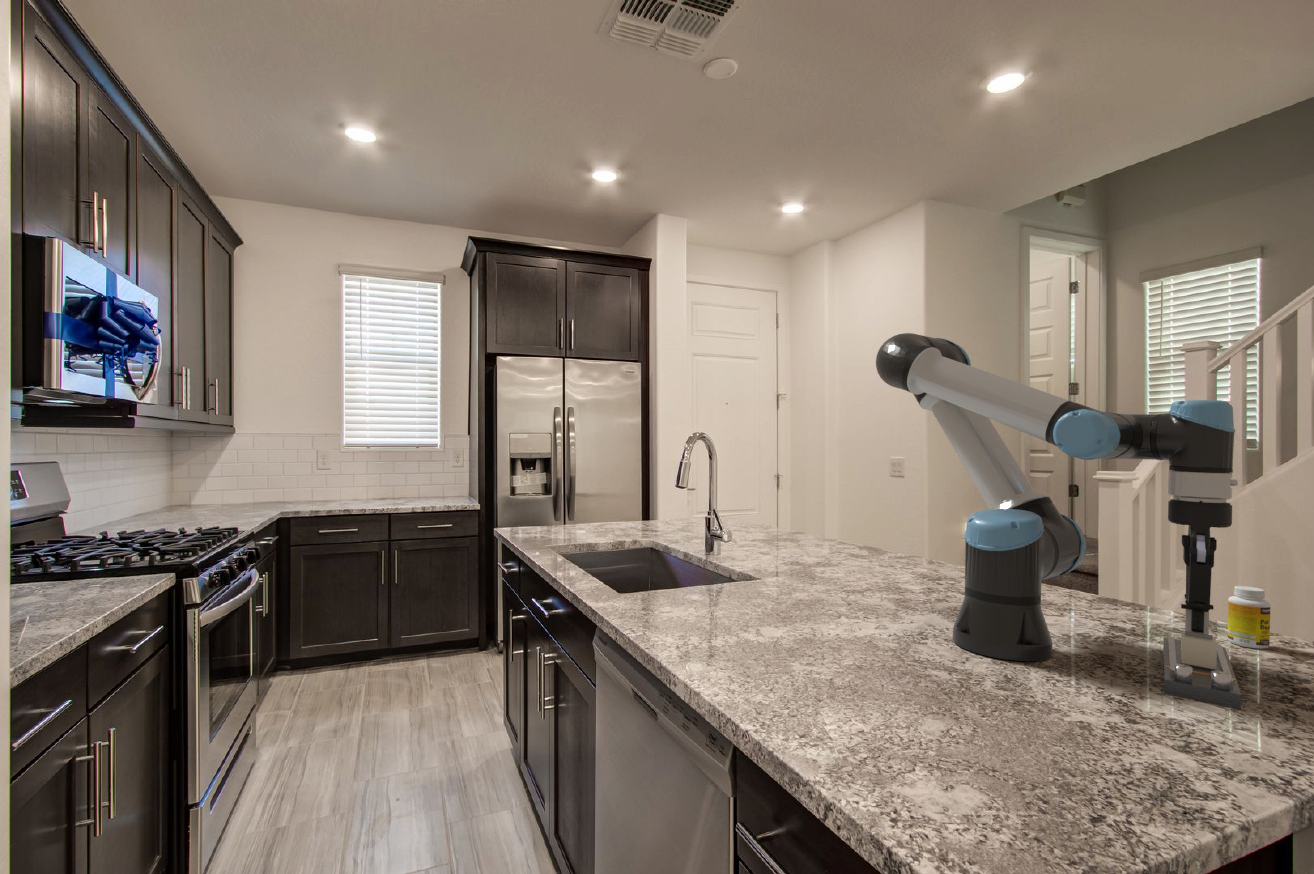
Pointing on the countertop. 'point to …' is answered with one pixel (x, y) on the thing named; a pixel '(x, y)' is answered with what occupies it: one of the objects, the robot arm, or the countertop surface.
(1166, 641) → the console
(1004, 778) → the countertop surface
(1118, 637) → the countertop surface
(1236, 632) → the supplement bottle
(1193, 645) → the fader tab
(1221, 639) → the countertop surface
